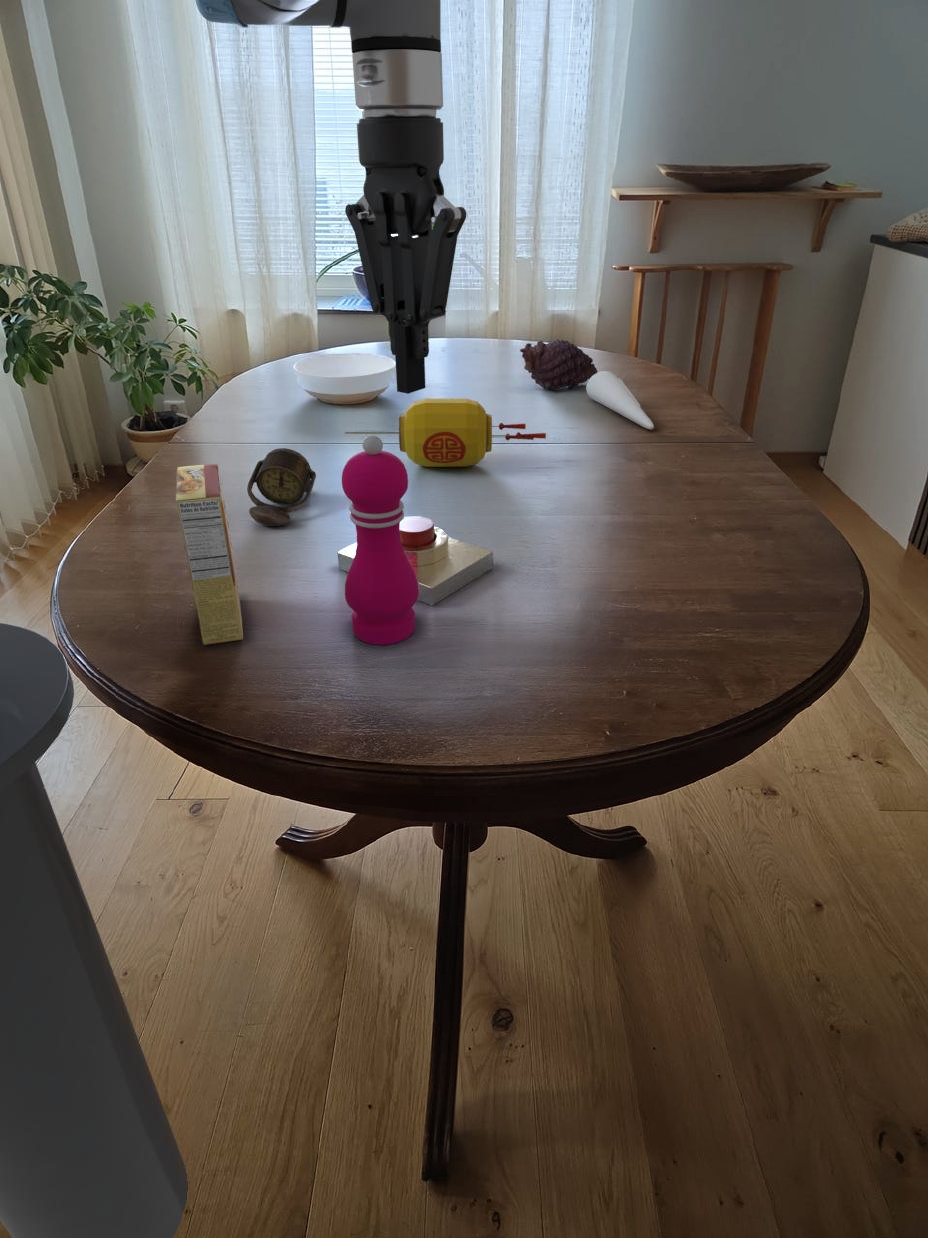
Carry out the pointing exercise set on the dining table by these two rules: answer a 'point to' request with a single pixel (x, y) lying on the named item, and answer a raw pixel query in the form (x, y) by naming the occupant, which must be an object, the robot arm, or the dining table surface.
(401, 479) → the pepper mill
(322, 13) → the robot arm
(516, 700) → the dining table surface
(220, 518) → the candy box
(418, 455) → the lantern
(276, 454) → the brass desk clock
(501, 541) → the dining table surface
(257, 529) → the dining table surface
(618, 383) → the long cone
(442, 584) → the control block
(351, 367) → the bowl
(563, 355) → the pine cone
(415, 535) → the button
